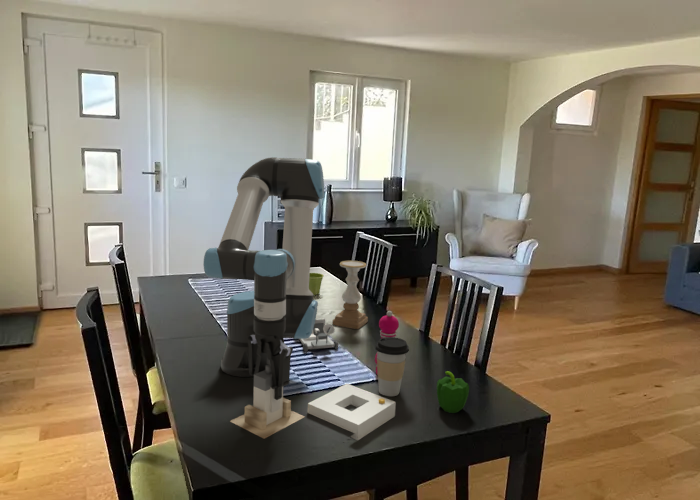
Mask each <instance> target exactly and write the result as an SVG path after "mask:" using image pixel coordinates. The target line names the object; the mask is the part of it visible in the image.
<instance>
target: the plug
mask: <svg viewBox="0 0 700 500" xmlns="http://www.w3.org/2000/svg"><path fill="white" fill-rule="evenodd" d="M272 385H273V382H272V374H271V366H270V364H267V365H266V369H265V370H264V371H261V372H259V373H256V374H254V376H253V404H252V406H253V407H255V408H258V409H260V410H262V411H264V412H266V413H267V422H266V425H268V424H270V423H272V422H274V421H276V420H278V419H280V418H282V412H283V398H284V387H282V398H281V399H280V409H279V410H277V411H275V412H273V413H271V412H270V387H271V386H272Z"/></svg>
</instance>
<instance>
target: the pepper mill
mask: <svg viewBox="0 0 700 500" xmlns="http://www.w3.org/2000/svg"><path fill="white" fill-rule="evenodd" d="M399 327H400V323H399V319H398V318H397V317H396V316H394V315H393V311H391V310H388V311H387V312H386V315H383V316H382V317H381V318H380V319H379V321H378V328H379V329H380V330H379V333H380V334H379V336H380V339H381V338H385V337H395V338H397V333H398V332H397V330H398V329H399ZM374 363H375V365H376V366H375V374H376V375H377V376H378V373H377V352H376V354H375V356H374Z"/></svg>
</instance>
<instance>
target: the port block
mask: <svg viewBox="0 0 700 500" xmlns="http://www.w3.org/2000/svg"><path fill="white" fill-rule="evenodd" d="M350 405H351V406H353V407H354V408H355V407H356V408H355V409H353V410H350V409H347V407H348V406H350ZM396 405H397V404H396V401H394V400H392V399H388V398H387V397H383V396H381V395H378V394H376V393H373V392H370V391H367V390H366V389H365V390H364V389H362V388H359V387H357V386H354V385H352V384H349V383H345V384H343V385H341V386H339V387H337V388H336V389H333V390H332V391H330V392H328V393H326V394H324V395H322V396H320V397H317V398H316V399H314V400H312V401H309V402H308V403H307V414H310V415H312V416H314V417H315V418H316V417H317V418H319V419H321V420H323V421H325V422H328V423H330V424H332V425H335V426H337V427H339V428H342V429H344V430H345V431H349V432H351V433H352V434H351V435H350V436H349V438H351V439H353V440H355V441H359V440H362V438H364V437H366V436H367V435H368V434H370V433H372V432H373V431H375V430H376V429H377V428H379V427H380V426H382V425H384V424H385V423H387V422H388V421H390V420H391V419H393V418H395V416H396Z"/></svg>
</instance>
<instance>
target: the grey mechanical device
mask: <svg viewBox="0 0 700 500" xmlns="http://www.w3.org/2000/svg"><path fill="white" fill-rule="evenodd" d="M334 326H335V325H332V323H330V324H329V323H326V318H323V317H322V318H316V319H315V324H314V328H313V331H312V334H311V336H310V337H309V338H306V339H298V340H299V341H300V342H301V344H302V349H303V350H302V351H305V352H304V353H308V350H317V349H318V350H319V349H328V348H333V349H334V350H338V349H339V341H337V340H334V341H333V340H332V339H331V338H330V336H332V335H333V334H335V332H336V328H335V327H334Z"/></svg>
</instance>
